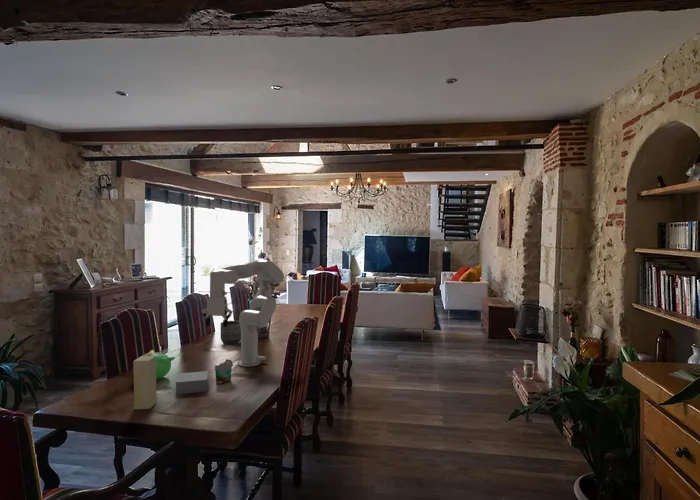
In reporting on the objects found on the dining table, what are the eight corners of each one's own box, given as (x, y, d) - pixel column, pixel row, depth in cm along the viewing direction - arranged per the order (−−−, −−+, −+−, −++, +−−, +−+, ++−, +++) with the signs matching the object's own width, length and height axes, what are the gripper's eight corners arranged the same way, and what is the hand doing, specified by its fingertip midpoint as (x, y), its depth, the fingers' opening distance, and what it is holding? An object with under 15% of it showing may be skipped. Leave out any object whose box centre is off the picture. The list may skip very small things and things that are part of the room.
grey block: (208, 382, 219) (207, 370, 219) (207, 391, 206) (207, 379, 206) (178, 385, 215) (178, 373, 215) (175, 395, 202) (175, 382, 202)
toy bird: (164, 372, 235) (164, 345, 234) (177, 379, 223) (176, 351, 222) (128, 380, 222) (128, 351, 222) (140, 388, 210) (140, 358, 210)
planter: (232, 340, 309) (232, 319, 309) (246, 343, 301) (245, 322, 300) (216, 344, 298) (216, 323, 297) (229, 347, 289) (229, 325, 289)
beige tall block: (139, 402, 191) (139, 355, 191) (156, 402, 192) (156, 355, 191) (132, 409, 183) (131, 361, 183) (149, 409, 184) (149, 360, 183)
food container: (226, 386, 213) (225, 366, 212) (214, 385, 214) (214, 365, 214) (237, 378, 225) (237, 359, 224) (226, 377, 226) (226, 358, 226)
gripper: (235, 294, 229) (235, 326, 229) (206, 292, 233) (205, 324, 233) (229, 295, 222) (228, 328, 222) (198, 294, 225) (197, 326, 225)
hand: (216, 326), depth 227 cm, fingers open, 9 cm apart
